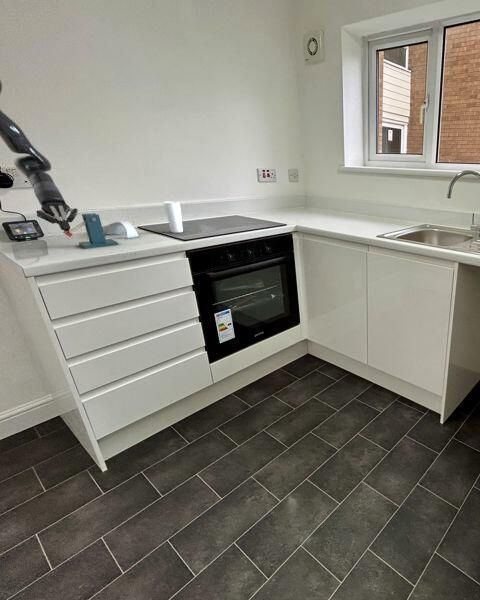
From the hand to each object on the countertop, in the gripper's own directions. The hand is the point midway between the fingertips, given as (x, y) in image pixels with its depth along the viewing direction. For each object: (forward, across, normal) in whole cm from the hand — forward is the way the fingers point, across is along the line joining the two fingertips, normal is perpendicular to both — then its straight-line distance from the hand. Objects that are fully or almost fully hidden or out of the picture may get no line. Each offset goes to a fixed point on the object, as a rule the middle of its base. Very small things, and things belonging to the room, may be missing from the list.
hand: (66, 229), depth 140 cm
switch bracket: (+5, +9, +5) cm, 11 cm away
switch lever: (0, +5, 0) cm, 5 cm away
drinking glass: (0, +43, +11) cm, 45 cm away
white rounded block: (-7, +22, +18) cm, 29 cm away
